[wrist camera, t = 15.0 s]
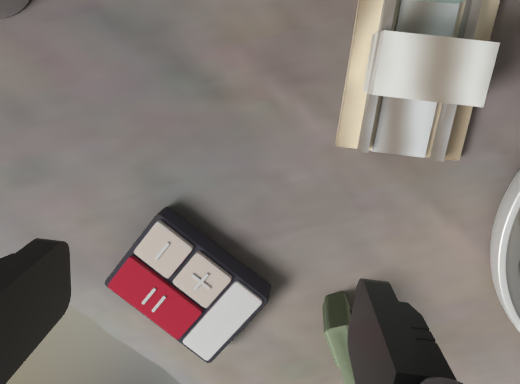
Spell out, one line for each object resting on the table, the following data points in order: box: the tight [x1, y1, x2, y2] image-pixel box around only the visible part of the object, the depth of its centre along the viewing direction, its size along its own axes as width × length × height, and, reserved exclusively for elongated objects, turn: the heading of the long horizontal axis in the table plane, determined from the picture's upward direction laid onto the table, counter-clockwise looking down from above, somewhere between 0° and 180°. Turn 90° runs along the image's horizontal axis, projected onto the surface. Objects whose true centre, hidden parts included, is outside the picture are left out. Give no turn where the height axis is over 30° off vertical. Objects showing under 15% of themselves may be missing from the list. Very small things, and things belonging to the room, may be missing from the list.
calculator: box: [105, 207, 271, 363], centre depth 46 cm, size 11×4×15 cm
